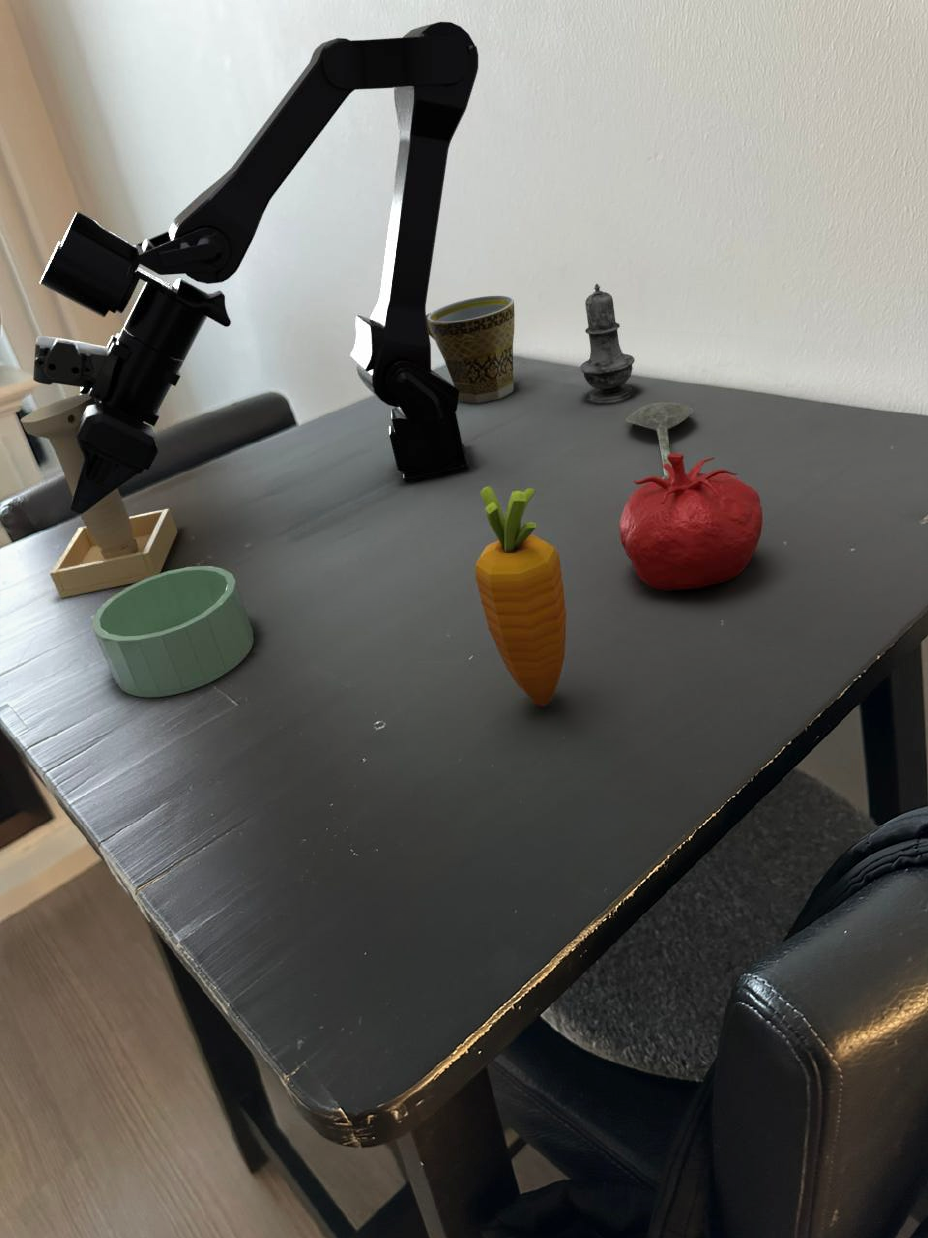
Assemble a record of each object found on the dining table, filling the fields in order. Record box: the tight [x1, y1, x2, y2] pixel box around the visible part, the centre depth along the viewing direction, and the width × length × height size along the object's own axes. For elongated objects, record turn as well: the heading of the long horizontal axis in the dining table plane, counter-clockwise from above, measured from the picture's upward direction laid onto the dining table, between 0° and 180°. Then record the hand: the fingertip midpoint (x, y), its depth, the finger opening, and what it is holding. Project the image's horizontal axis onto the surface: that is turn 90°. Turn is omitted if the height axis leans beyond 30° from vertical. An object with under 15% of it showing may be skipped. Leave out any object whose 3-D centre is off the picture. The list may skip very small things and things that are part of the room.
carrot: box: [474, 485, 567, 708], centre depth 61 cm, size 5×5×15 cm
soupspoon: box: [625, 401, 695, 479], centre depth 94 cm, size 22×3×7 cm
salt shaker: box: [579, 283, 637, 405], centre depth 109 cm, size 6×6×12 cm
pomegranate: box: [618, 452, 763, 592], centre depth 73 cm, size 10×10×9 cm
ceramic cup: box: [426, 295, 516, 404], centre depth 119 cm, size 13×10×10 cm
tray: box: [49, 508, 178, 599], centre depth 97 cm, size 9×10×3 cm
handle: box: [20, 393, 139, 560], centre depth 94 cm, size 5×6×15 cm
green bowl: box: [91, 565, 255, 698], centre depth 78 cm, size 11×11×5 cm
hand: (76, 494), depth 94 cm, fingers open, 9 cm apart
